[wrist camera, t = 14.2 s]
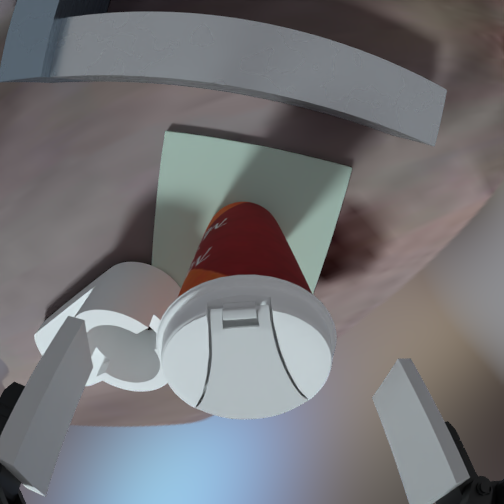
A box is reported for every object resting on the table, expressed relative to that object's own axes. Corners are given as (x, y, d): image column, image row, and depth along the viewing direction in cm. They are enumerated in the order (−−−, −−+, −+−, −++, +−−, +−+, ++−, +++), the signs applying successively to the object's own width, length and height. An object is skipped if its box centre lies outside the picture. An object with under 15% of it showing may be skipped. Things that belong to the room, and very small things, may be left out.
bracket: (143, 243, 24) (113, 289, 18) (207, 317, 27) (198, 373, 21) (34, 329, 29) (8, 367, 23) (85, 376, 32) (67, 417, 26)
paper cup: (187, 192, 22) (124, 302, 10) (290, 183, 22) (355, 284, 10) (201, 283, 26) (177, 428, 13) (293, 275, 26) (333, 417, 13)
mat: (152, 291, 27) (150, 295, 26) (167, 130, 21) (165, 131, 20) (303, 314, 28) (304, 318, 28) (349, 166, 22) (352, 168, 22)
